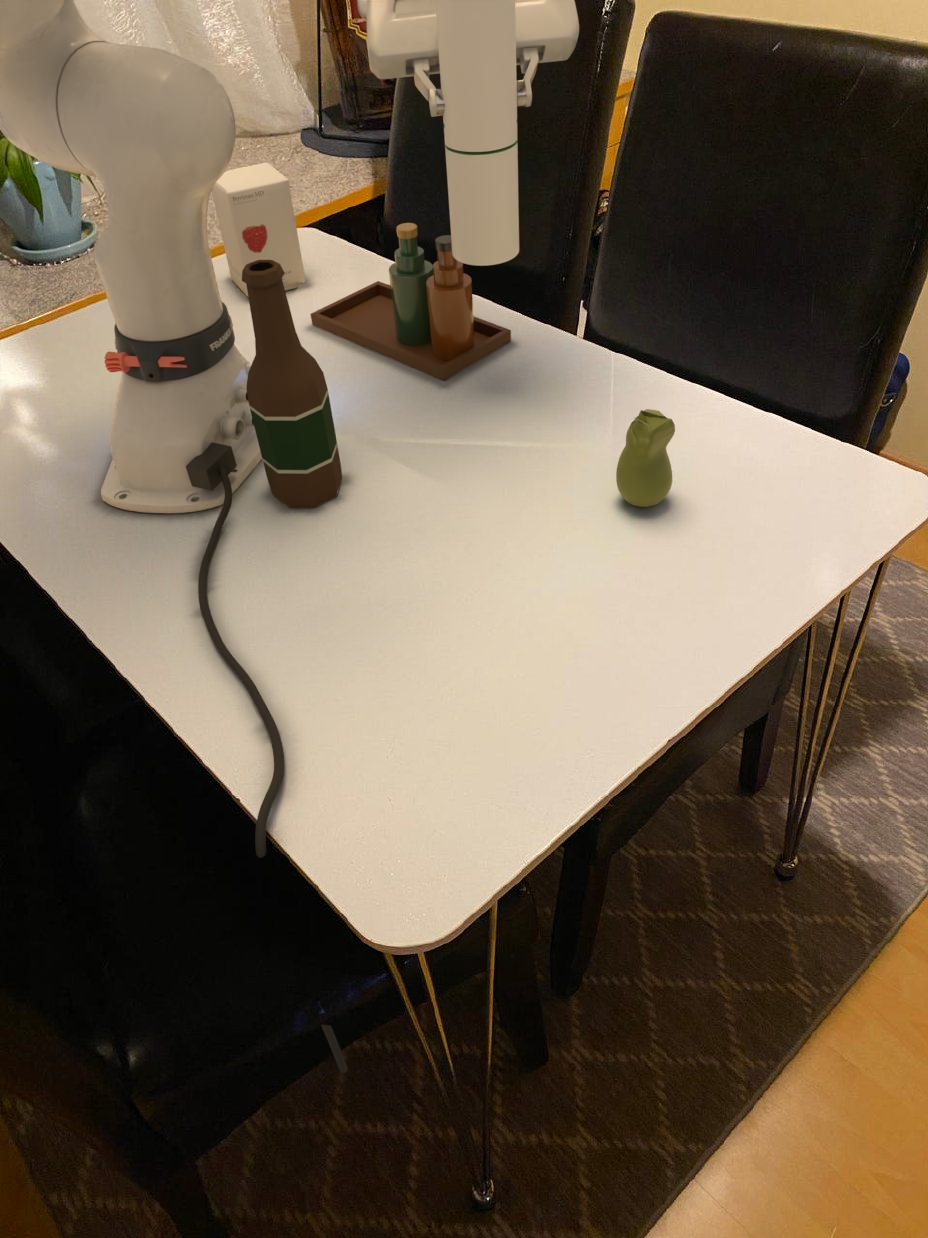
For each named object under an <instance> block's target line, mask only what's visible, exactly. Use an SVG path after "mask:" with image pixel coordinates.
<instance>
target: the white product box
mask: <svg viewBox="0 0 928 1238" xmlns="http://www.w3.org/2000/svg"><path fill="white" fill-rule="evenodd" d="M211 194H212V200H213V204H214V208H215V213H216V217H217V221H218V227H219V231H220V234H221V239H222V243H223V248H224V252H225V257H226V262H227V266H228V270H229V275H230V278H231V280H232V281H233V282H234V283H235V285H236V286H237V287H238V288H239V289H240V290H241V291H242V292H243V294H244V295H245V296H246V297H247V298H248V291H247V285H246V283H244V282H243V281H242V270H243V269H244V267H245V265H246V264H249V263H251V262H254V261H257V260H273V261H275V262H277V263H279V264H280V265H281V267H282V269H283V271H284V273H285V274H284V275H283V277H282V281H283V285H284V288H285V292H287V291H290V290H294V289H297V288H299V287H300V285H301V284H304V283H307V281H306V275H305V268H304V263H303V258H302V252H301V251H302V250H301V246H300V240H299V233H298V229H297V223H296V217H295V211H294V205H293V200H292V199H293V198H292V192H291V188H290V182H289V179H288V178H287V177H286V176H285V175H284V174H282V173H281V172H279V171H278V170H277V169H276V168H275V167H274V166H272V164H270V163H269V162H268V161H267V162H261V163H257V164H252V165H248V166H242V167H237V168H233V169H228V170H226V171H225V172H224V174H223V175H222V176H221V177H220V178H219V179H218V180H217V182H216V183H215V184H214V186H213V188H212V190H211Z"/></svg>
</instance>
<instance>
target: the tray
mask: <svg viewBox="0 0 928 1238" xmlns="http://www.w3.org/2000/svg"><path fill="white" fill-rule="evenodd" d="M310 320H311V324H312V326H314V327H316V328H319V329H321V330H324V331H325V332H328V333H331V334H333V335H335V336H337V337H340V338H342V339H345V340H347V341H349V342H351V343H354V344H356V345H358V346H361V347H364V348H366V349H368V350H370V351H372V352H375V353H377V354H379V355H382V356H384V357H387V358H388V359H391V360H393V361H396V362H397V363H400V364H403V365H405V366H408V367H409V368H412V369H415V370H417V371H419V372H422V373H424V374H426V375H428V376H431V377H433V378H435V379H437V380H441V381H442V382H445V381H446V380H449V379H451V378H452V377H453V376H455V375H457V374H459V373H460V372H462V371H464V370H465V369H467V368H469V367H470V366H472V365H473V364H475V363H477V362H478V361H481V360H482V359H484V358H485V357H487V356H488V355H490V354H492V353H494V352H495V351H497V350H499V349H501V348H502V347H504V346H506V345H508V344H509V343H510V342H512V332H511V331H512V329H509V328H507V327H504V326H501V325H499V324H495V323H493V322H490V321H487V320H485V319H482V318H479V317H478V316H474V315H473V320H474V341H475V347H473V348H472V349H470V350H468V351H466V352H465V353H463V354H461V355H460V356H458V357H456V358H454V359H453V360H451V361H447V360H441V359H438V358H436V357H435V356H434V355H433V354H432V348H431V342H430V343H427V344H423V345H414V346H413V345H405V344H402V343H400V342H399V341H398V340H397V338H396V332H395V323H394V314H393V305H392V296H391V287H390V284H387V283H384V282H382V281H378V280H377V281H375V282H373V283H371V284H369V285H367V286H365V287H363V288H361V289H359V290H357V291H355V292H353V293H350V294H348V295H346V296H344V297H342V298H340V299H338V300H337V301H334V302H331V303H330V304H328V305H326V306H324V307H322V308H319V309H318V310H316V311H313V312H312V313H310Z"/></svg>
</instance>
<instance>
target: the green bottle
mask: <svg viewBox="0 0 928 1238" xmlns="http://www.w3.org/2000/svg"><path fill="white" fill-rule="evenodd" d="M418 231H419V230H418V225H417V224H416V223H414V222H405V223H400V224H398V225H397V226H396V236H397V238H398V245H399V248H397V249H395V251H394V261H395V262H394V263H392V264H391V265H390V266H389V267H388V277H389V285H390V287H391V296H392V305H393V314H394V323H395V332H396V338H397V340H398V341H399V342H400V343H402V344H405V345H413V346H414V345H423V344H427V343H430V342H431V336H430V324H429V312H428V300H427V288H426V281H427V279H428V278H429V277H431V276H433V264H432V263H431V261H428V260H425V250H424V249H423V247H421V246H419V245H418V234H419V232H418Z"/></svg>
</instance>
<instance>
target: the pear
mask: <svg viewBox="0 0 928 1238" xmlns="http://www.w3.org/2000/svg"><path fill="white" fill-rule="evenodd" d="M675 425H676V424H675V423H674V421H673V419H672V418H669V417H667V416H665V415H664V414H663V413H662V412H660V410H656V409H650V408H646V409H644V410H642V409H641V410H640V411H639V413H638V415H637V416H636V417H634V420H633V421H632V422H631V423H630V425H629V427H628V428H627V431H626V435H625V445H624V447H623V449H622V451H621V453H620V455H619V458H618V462H617V465H616V473H615V480H616V481H615V482H616V486H617V490H618V492H619V494H620V495H621V497H622V498H623V499H624V500H625V501H626V502H627V503H629V504H630V505H633V506H636V507H639V508H648V507H653V506H656V505H657V504H659V503H661V502H662V501H663V500H664V499H666V497H667V496H668V494H669V493H670V490H671V488H672V484H673V469H672V465H671V460H670V458H669V457H670V456H669V454H668V452H667V446H668V445H669V443H670V442H671V441H672V439H673V437H674V435H675V434H676V433H675V432H676V426H675Z"/></svg>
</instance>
